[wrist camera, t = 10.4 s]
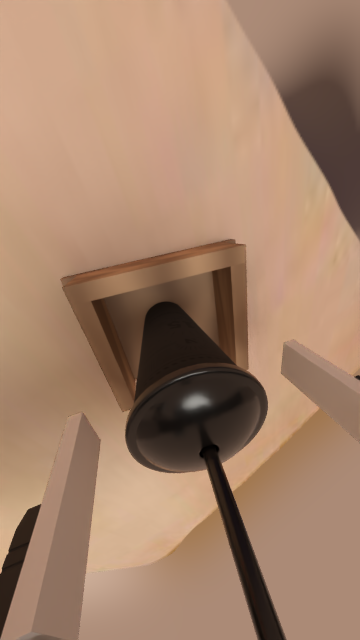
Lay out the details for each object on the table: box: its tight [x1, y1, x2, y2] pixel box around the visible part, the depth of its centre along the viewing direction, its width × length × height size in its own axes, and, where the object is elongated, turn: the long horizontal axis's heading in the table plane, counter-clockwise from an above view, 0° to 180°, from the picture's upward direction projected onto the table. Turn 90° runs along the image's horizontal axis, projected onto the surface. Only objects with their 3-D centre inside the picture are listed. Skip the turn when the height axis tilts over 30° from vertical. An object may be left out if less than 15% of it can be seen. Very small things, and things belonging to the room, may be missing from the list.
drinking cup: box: [125, 302, 286, 640], centre depth 13 cm, size 8×8×20 cm
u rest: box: [60, 239, 248, 412], centre depth 20 cm, size 18×14×6 cm
